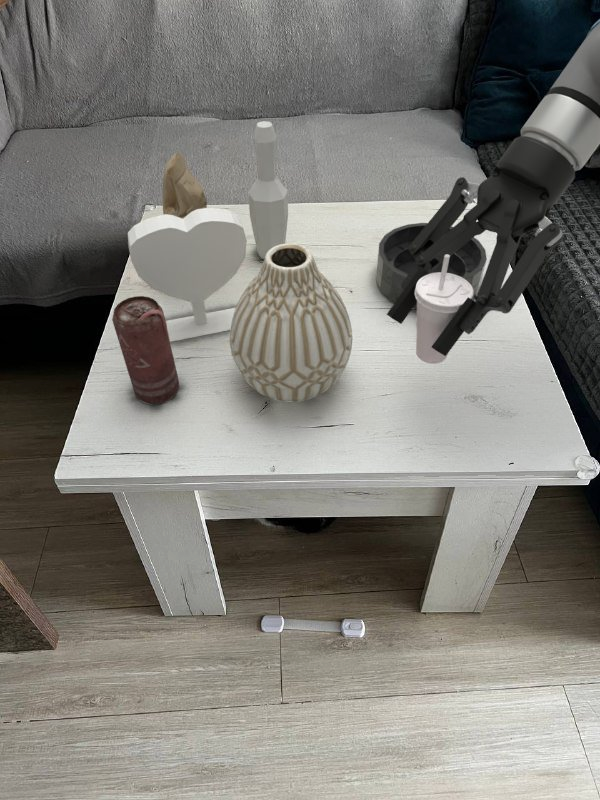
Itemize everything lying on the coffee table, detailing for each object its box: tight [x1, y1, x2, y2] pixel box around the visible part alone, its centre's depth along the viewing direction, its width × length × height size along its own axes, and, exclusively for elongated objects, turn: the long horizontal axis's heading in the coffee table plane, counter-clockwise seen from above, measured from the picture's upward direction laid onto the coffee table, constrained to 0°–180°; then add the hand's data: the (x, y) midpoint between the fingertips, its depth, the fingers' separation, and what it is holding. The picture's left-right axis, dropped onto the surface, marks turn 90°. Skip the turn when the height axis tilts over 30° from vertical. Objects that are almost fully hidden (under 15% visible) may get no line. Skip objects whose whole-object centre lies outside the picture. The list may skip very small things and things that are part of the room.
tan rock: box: [162, 152, 208, 219], centre depth 93 cm, size 13×7×20 cm, turn 171°
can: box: [111, 295, 180, 406], centre depth 77 cm, size 6×6×14 cm
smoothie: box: [414, 254, 474, 365], centre depth 68 cm, size 6×6×14 cm
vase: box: [229, 242, 353, 403], centre depth 76 cm, size 16×16×20 cm
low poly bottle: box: [247, 120, 289, 260], centre depth 97 cm, size 6×6×22 cm
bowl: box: [375, 222, 488, 311], centre depth 96 cm, size 17×17×6 cm
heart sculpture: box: [127, 207, 248, 343], centre depth 85 cm, size 16×5×18 cm, turn 107°
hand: (415, 334), depth 68 cm, fingers closed on smoothie, 6 cm apart
